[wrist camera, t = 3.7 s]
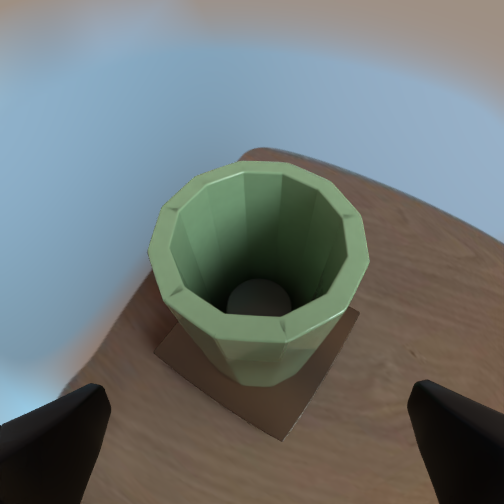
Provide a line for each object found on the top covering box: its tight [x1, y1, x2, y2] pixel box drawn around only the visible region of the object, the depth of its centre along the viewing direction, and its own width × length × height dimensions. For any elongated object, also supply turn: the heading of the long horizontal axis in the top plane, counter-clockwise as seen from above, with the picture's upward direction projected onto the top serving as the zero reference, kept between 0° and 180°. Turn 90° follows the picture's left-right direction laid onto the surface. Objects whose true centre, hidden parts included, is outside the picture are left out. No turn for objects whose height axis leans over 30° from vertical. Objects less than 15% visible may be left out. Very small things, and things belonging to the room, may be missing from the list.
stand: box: [154, 278, 360, 442], centre depth 16 cm, size 10×10×6 cm
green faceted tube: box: [148, 161, 370, 387], centre depth 13 cm, size 7×7×11 cm
